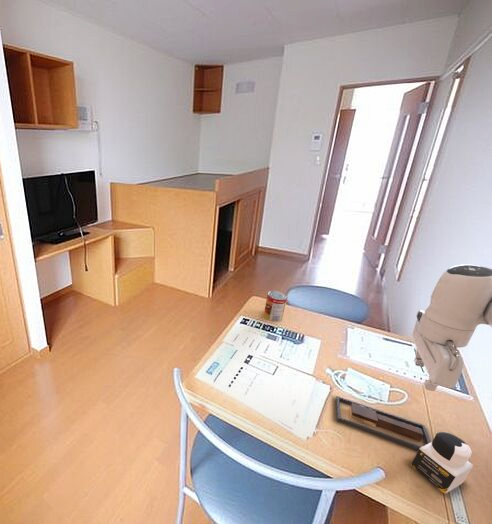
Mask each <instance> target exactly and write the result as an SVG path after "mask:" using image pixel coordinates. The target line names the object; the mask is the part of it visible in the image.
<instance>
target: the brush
mask: <svg viewBox="0 0 492 524" xmlns="http://www.w3.org/2000/svg"><path fill="white" fill-rule="evenodd" d="M348 412H349V419H350V420H353V421H355V422H357V423H359V424H363V425H365V426H370V428H371V427H372V428H373V429H376V427H377V428H380V429H383V430H386V431H388V432H390V433H391V432H392V433H394V434H397V435H400V436H402V437H405V438H407V439H411V440H414V441H417V442H419V443H420V442H421V440H422V438H423V432H422V429H420V428H418V427H415V426H412V425H409V424H406V423H403V422H400V421H397V420H394V419H391V418H388V417H385V416H382V415H380V414H377V413H376V411H375V410H372V409H369V408H366V407H363V406H360V405H357V404H354V403H351V405H349V409H348Z"/></svg>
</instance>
